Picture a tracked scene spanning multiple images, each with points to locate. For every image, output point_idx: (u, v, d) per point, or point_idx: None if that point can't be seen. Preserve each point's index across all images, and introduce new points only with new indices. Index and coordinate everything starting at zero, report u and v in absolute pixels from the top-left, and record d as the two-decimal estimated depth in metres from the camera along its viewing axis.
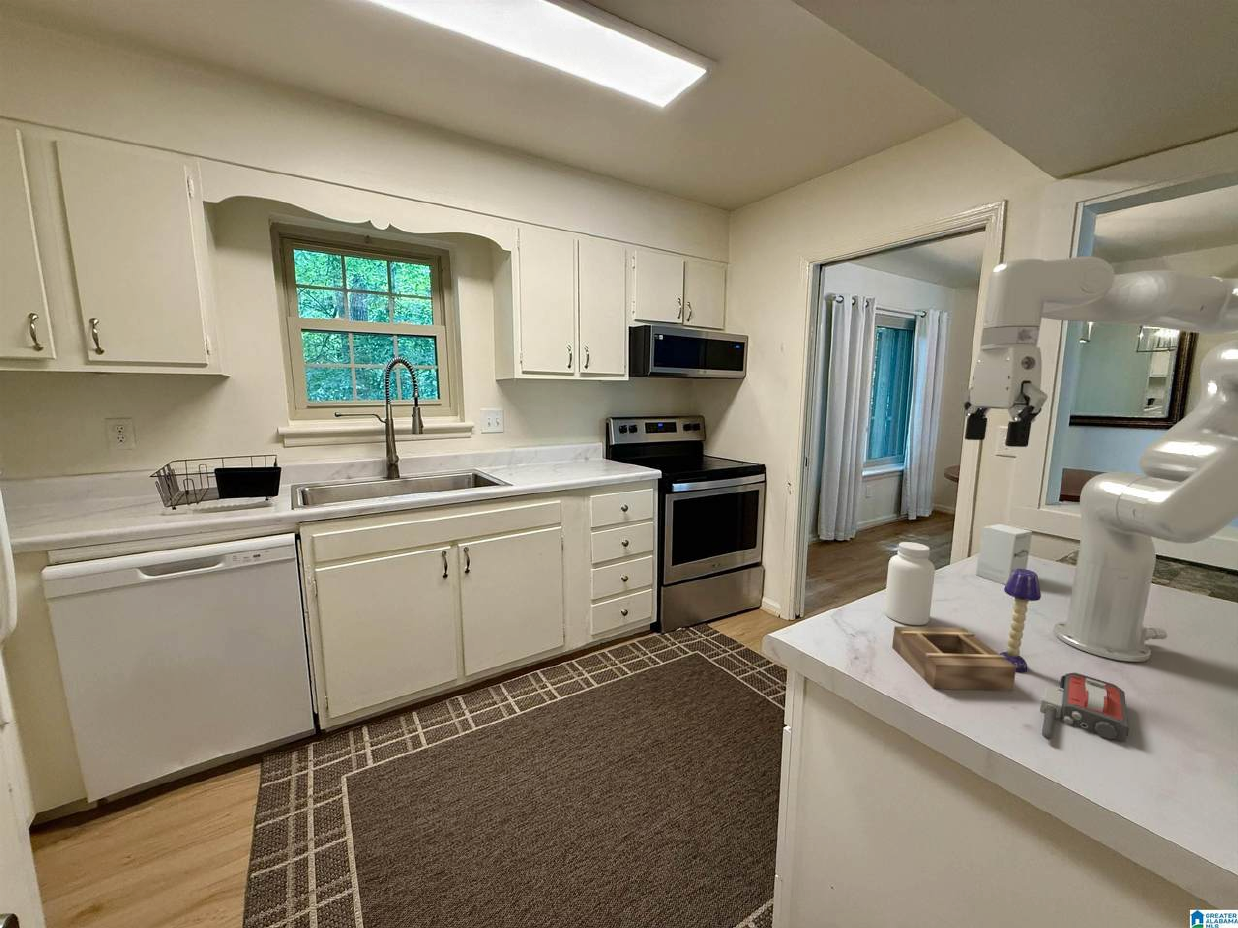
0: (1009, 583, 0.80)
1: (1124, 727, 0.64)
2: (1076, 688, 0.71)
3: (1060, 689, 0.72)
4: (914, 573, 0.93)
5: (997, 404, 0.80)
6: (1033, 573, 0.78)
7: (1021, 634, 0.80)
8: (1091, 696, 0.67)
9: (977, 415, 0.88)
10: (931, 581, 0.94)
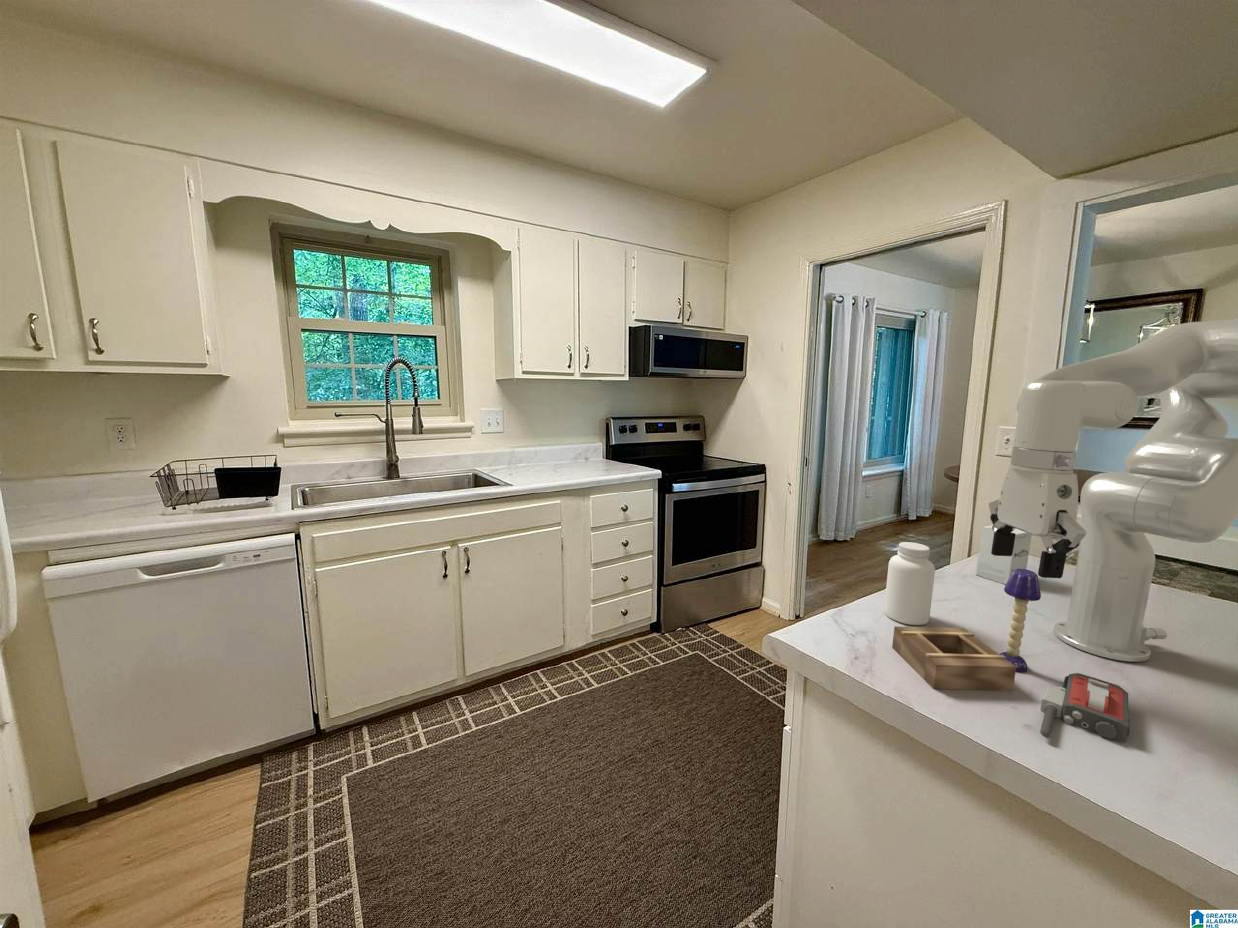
0: (1009, 583, 0.80)
1: (1125, 727, 0.64)
2: (1078, 688, 0.71)
3: (1062, 689, 0.72)
4: (914, 573, 0.93)
5: (1029, 529, 0.76)
6: (1033, 573, 0.78)
7: (1021, 634, 0.80)
8: (1092, 696, 0.67)
9: (1005, 530, 0.83)
10: (931, 581, 0.94)
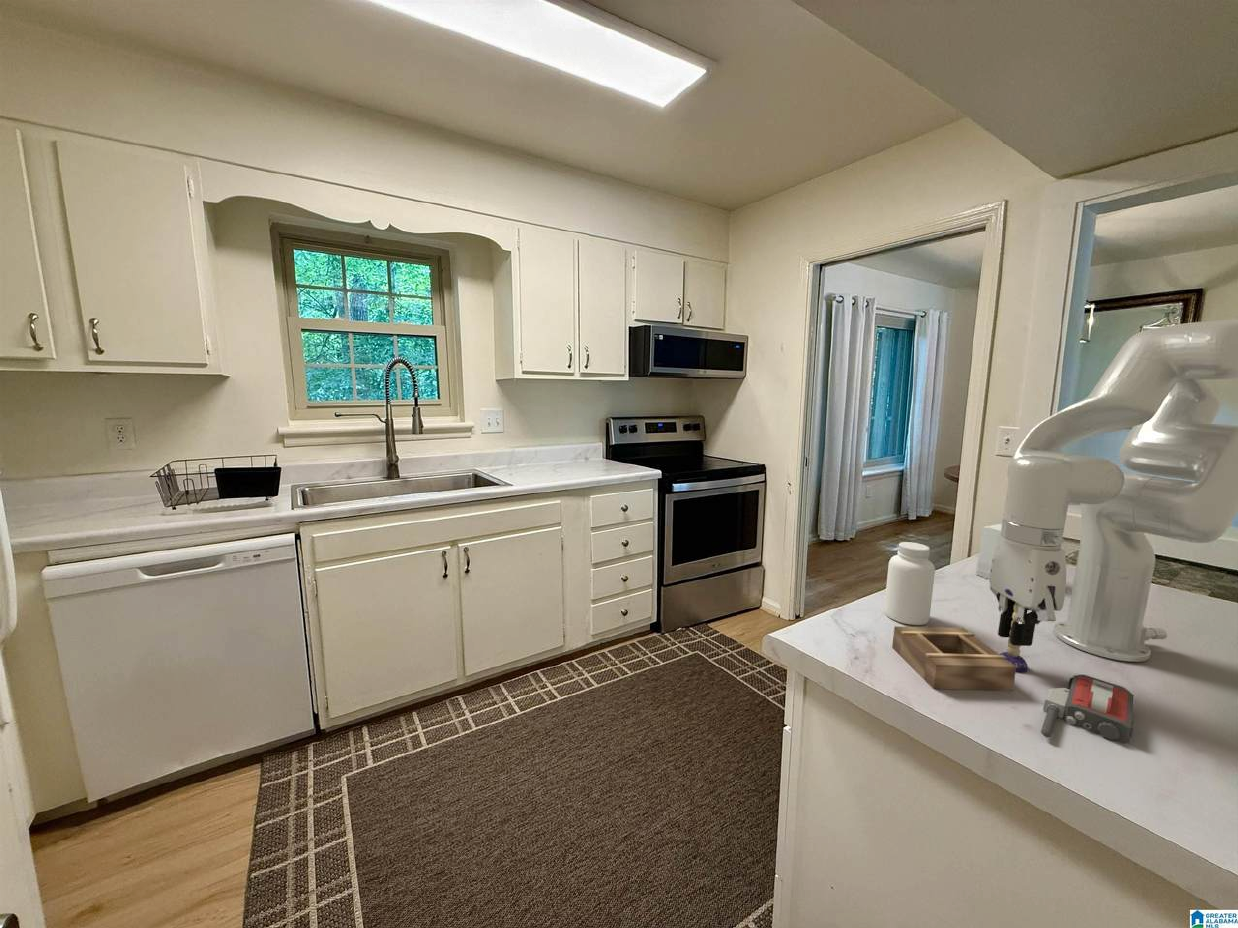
0: None
1: (1127, 728, 0.64)
2: (1082, 689, 0.71)
3: (1066, 690, 0.72)
4: (914, 573, 0.93)
5: (1019, 601, 0.78)
6: None
7: None
8: (1095, 697, 0.67)
9: (1011, 612, 0.81)
10: (931, 581, 0.94)
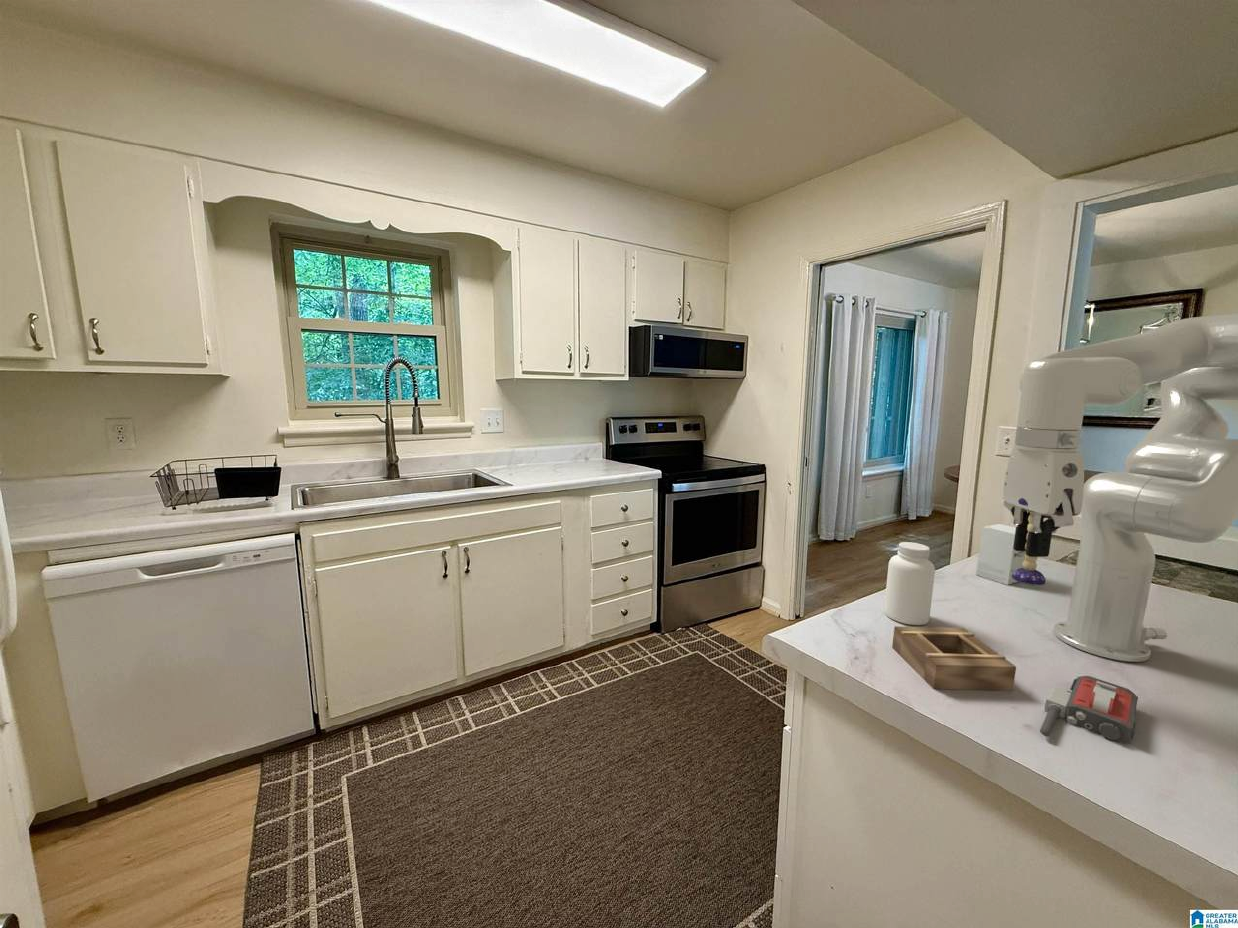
0: None
1: (1128, 729, 0.64)
2: (1085, 690, 0.71)
3: (1069, 690, 0.72)
4: (914, 573, 0.93)
5: (1035, 509, 0.75)
6: None
7: None
8: (1097, 697, 0.67)
9: (1027, 525, 0.79)
10: (931, 581, 0.94)
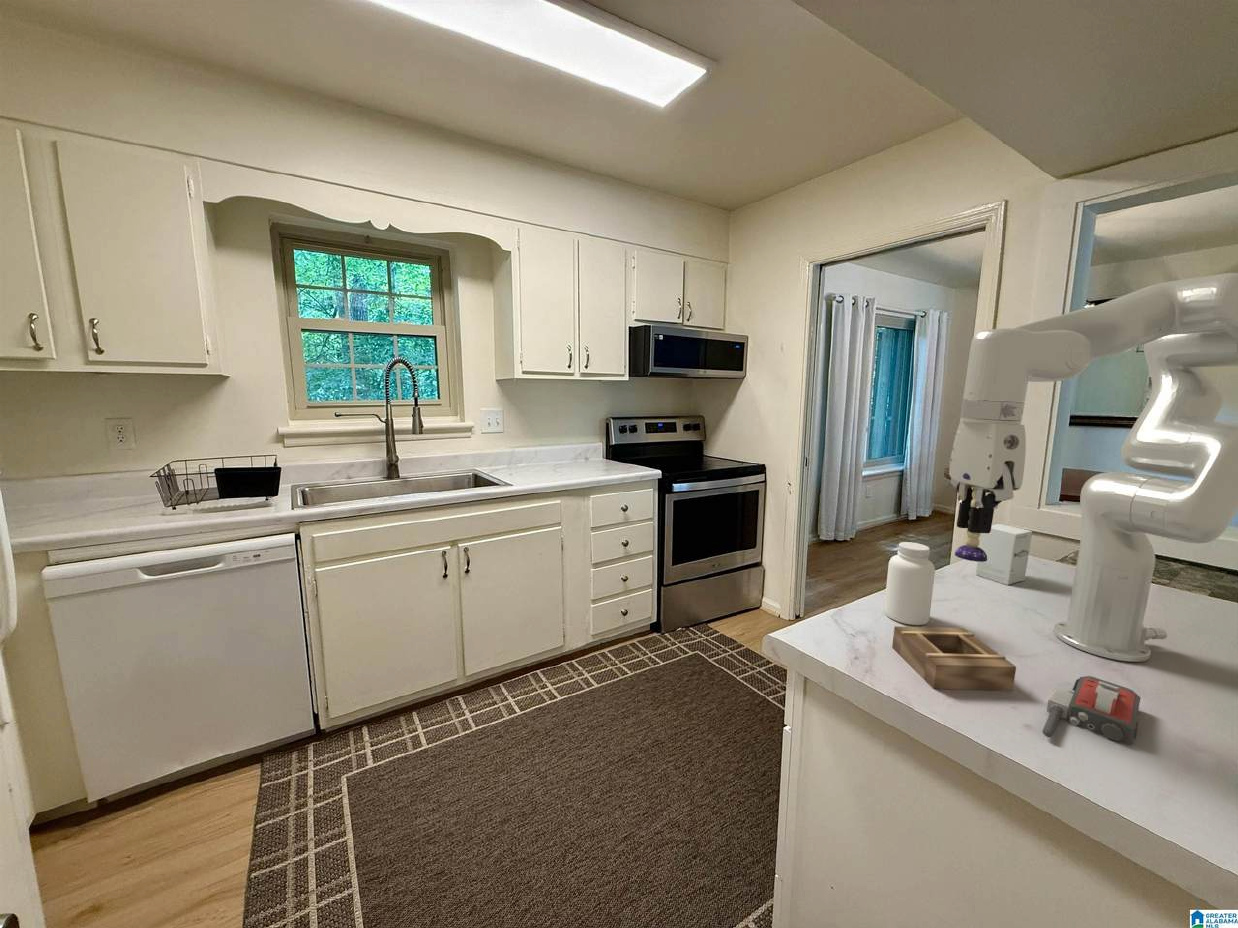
0: None
1: (1131, 729, 0.64)
2: (1087, 690, 0.71)
3: (1071, 691, 0.72)
4: (914, 573, 0.93)
5: (977, 483, 0.74)
6: None
7: None
8: (1099, 698, 0.67)
9: None
10: (931, 581, 0.94)
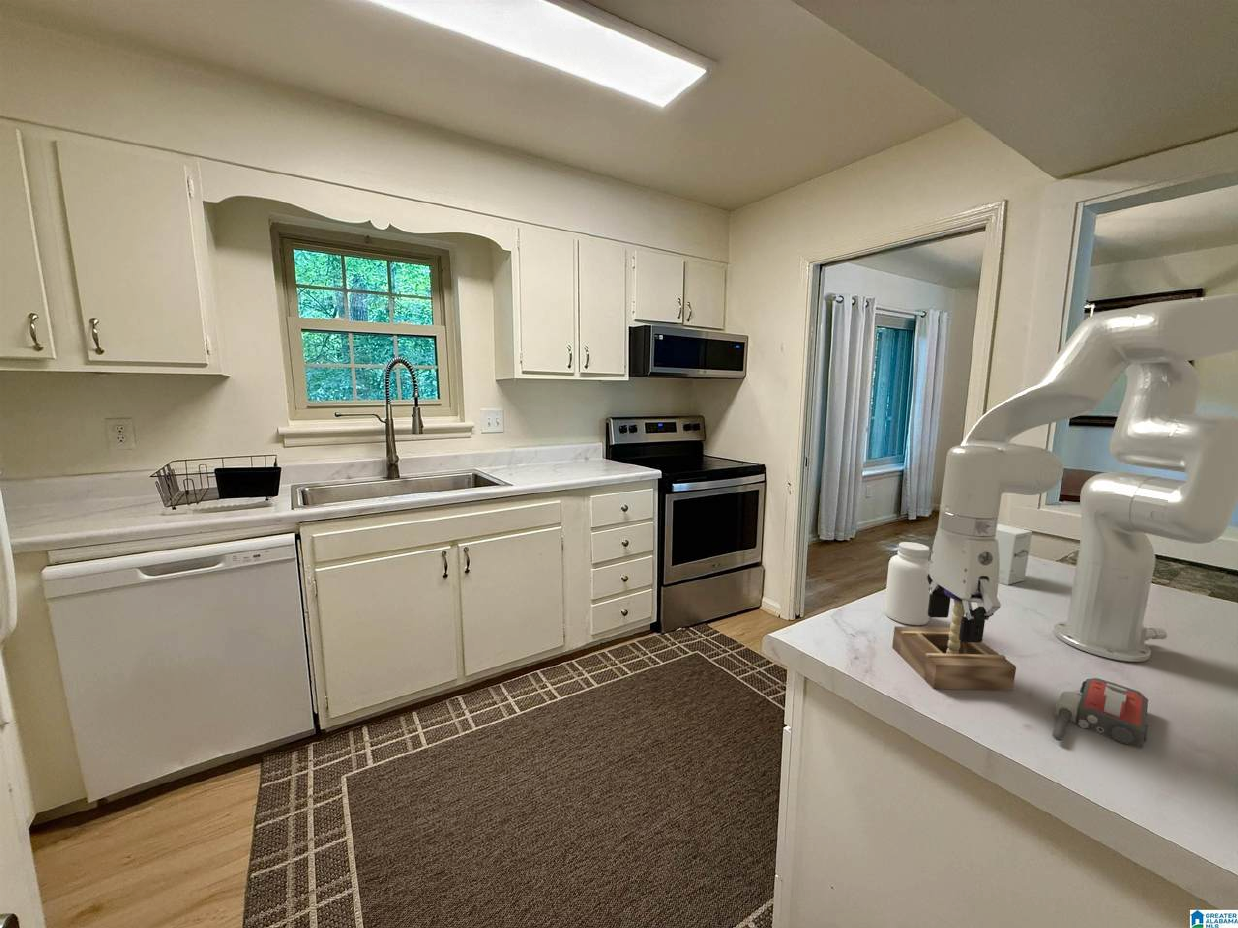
0: None
1: (1141, 732, 0.63)
2: (1095, 693, 0.70)
3: (1078, 693, 0.71)
4: (914, 573, 0.93)
5: (955, 592, 0.77)
6: None
7: None
8: (1108, 700, 0.67)
9: (940, 593, 0.83)
10: None
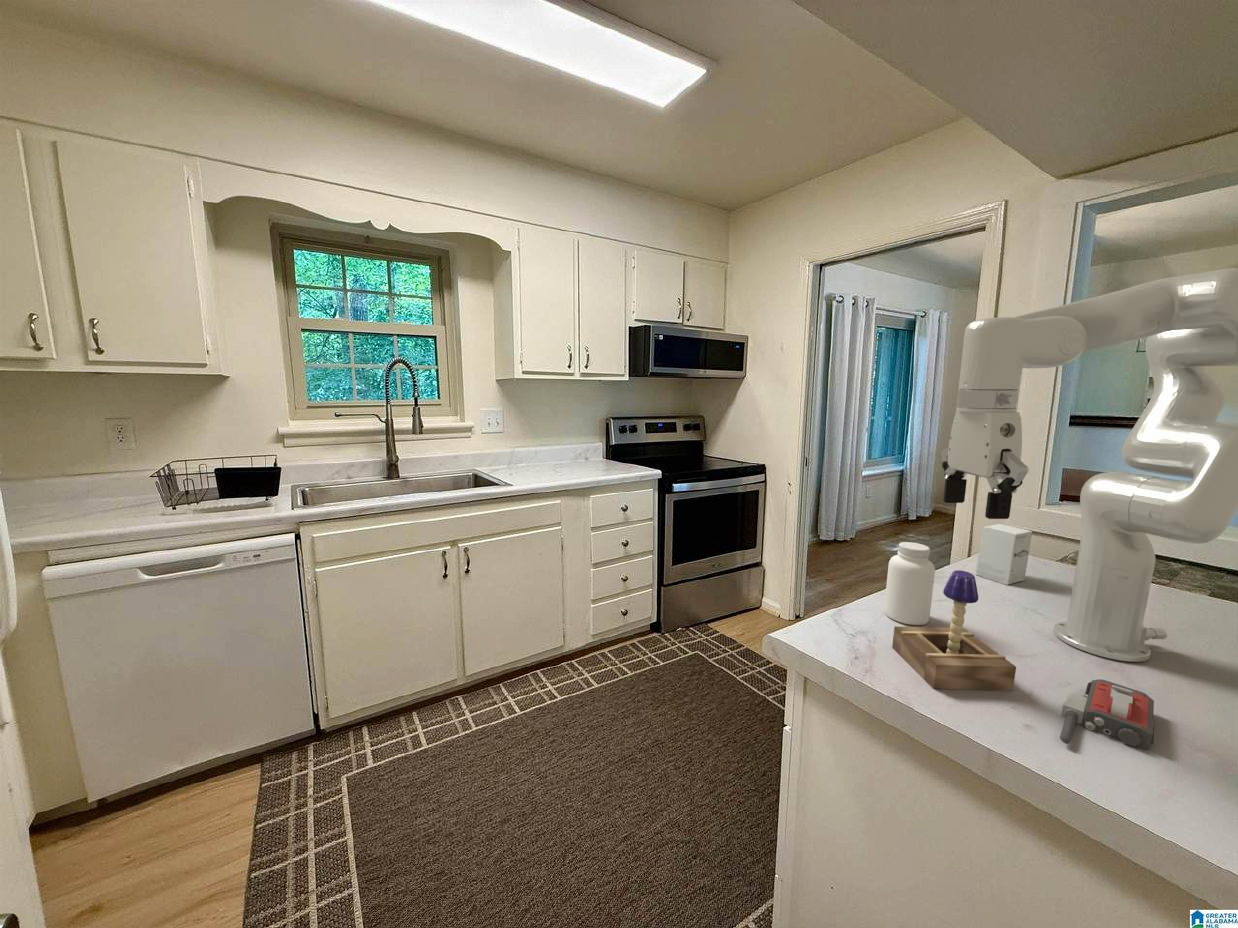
0: (947, 585, 0.79)
1: (1149, 734, 0.63)
2: (1101, 694, 0.70)
3: (1084, 695, 0.71)
4: (915, 573, 0.93)
5: (975, 471, 0.74)
6: (970, 575, 0.77)
7: (960, 637, 0.79)
8: (1115, 702, 0.66)
9: (956, 477, 0.82)
10: (931, 581, 0.94)
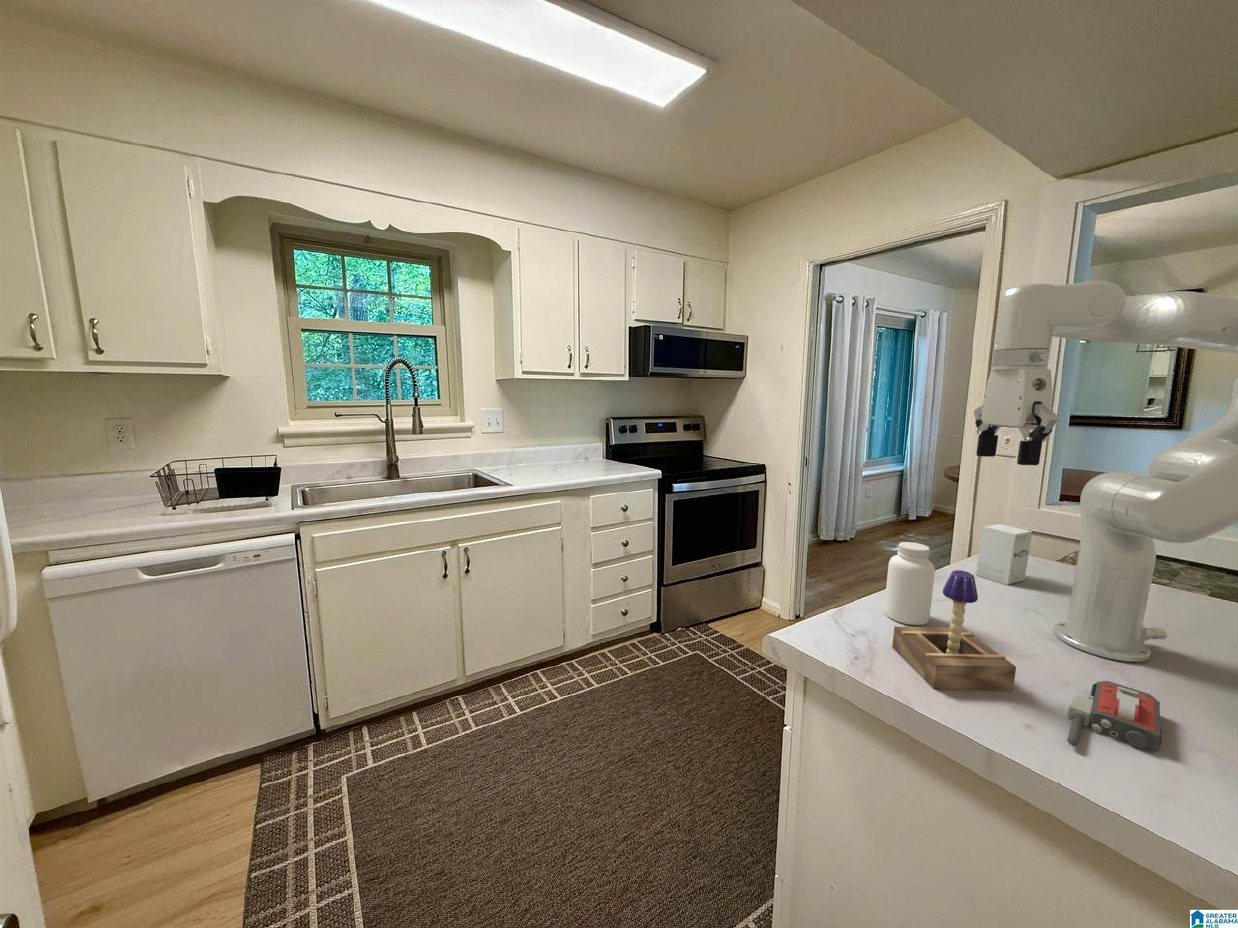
0: (947, 585, 0.79)
1: (1156, 737, 0.62)
2: (1107, 696, 0.70)
3: (1090, 697, 0.71)
4: (914, 573, 0.93)
5: (1009, 423, 0.83)
6: (970, 575, 0.77)
7: (959, 637, 0.79)
8: (1122, 704, 0.66)
9: (988, 432, 0.90)
10: (931, 581, 0.94)
